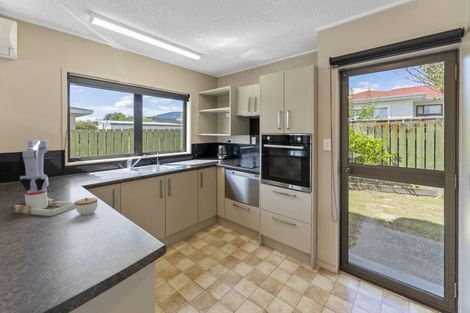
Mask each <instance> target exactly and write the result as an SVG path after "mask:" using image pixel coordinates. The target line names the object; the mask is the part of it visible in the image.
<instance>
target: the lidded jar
mask: <svg viewBox="0 0 470 313" xmlns="http://www.w3.org/2000/svg"><path fill="white" fill-rule="evenodd" d="M74 202H75V206H76V208H75V210H76V212H77V213H78V214H79V215H81V216H90V215H92V214H94V212H95V211H96V210H97V209H98V203H99V202H98V198H97V197H87V196H86V197H84V198H81V199H78V200H75V201H74Z"/></svg>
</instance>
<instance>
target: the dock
mask: <svg viewBox="0 0 470 313" xmlns="http://www.w3.org/2000/svg"><path fill="white" fill-rule="evenodd" d="M55 201H56V200H55ZM75 202H76V201H74V202H73V201H63V200H61V201H59V200H58V201H56V206H55V207H57V208H54V209H46V208H45V209H34V208H33V209H31V213H30V215H38V216H46V217H47V216H49V217H53V216H55V215H59V214H61V213H65V212H68V211H70V210H73V209H76V206H75Z"/></svg>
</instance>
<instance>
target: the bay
mask: <svg viewBox="0 0 470 313" xmlns="http://www.w3.org/2000/svg"><path fill="white" fill-rule="evenodd" d="M48 207H57V206H56V199H55V198H53V199H52V198H50V199H48ZM31 209H32V206H26V205H24V204H23V205H20V204H16V205H13V210H14V213H17V214H29V215H31Z"/></svg>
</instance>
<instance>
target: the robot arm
mask: <svg viewBox="0 0 470 313" xmlns="http://www.w3.org/2000/svg"><path fill="white" fill-rule="evenodd" d="M48 148H49V147H48V140H47V139H29V140H28V141H27V148H26V149H25V150H24V151H22V154H21V155H22V158H23V159H22V160H23V163H24V168H25V175H20V176H19V182H20V183H21V185H22V186H23V187H24V189H25V191H27V193H31V192H38V191H46V192H47V187H49V177H48V175H47V174H45V173H44V156H45V153H47V152H48ZM27 193H26V194H27ZM47 198H48V199H51V197H47Z"/></svg>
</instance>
